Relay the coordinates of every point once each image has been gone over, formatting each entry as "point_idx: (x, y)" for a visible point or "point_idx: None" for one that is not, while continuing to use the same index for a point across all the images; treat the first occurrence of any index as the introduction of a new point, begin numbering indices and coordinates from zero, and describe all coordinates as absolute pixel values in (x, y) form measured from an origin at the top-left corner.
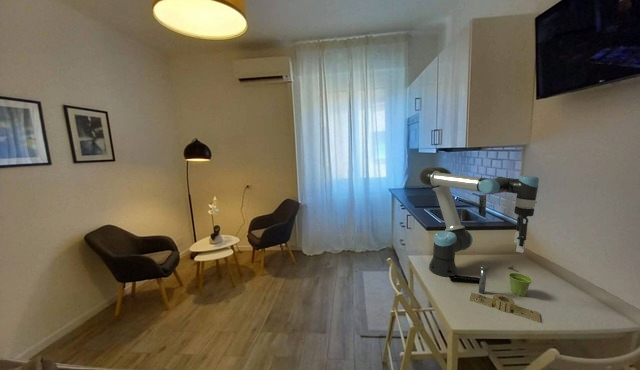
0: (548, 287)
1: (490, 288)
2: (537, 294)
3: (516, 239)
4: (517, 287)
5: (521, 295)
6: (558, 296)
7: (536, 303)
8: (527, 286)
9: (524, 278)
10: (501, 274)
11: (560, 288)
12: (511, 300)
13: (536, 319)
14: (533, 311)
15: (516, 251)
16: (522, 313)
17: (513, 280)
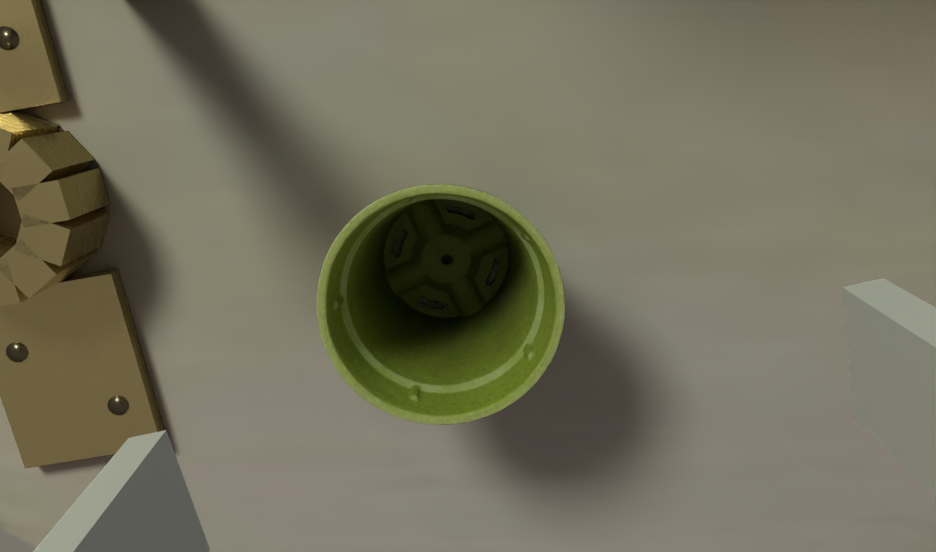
0: (808, 446)
1: (322, 19)
2: (559, 391)
3: (902, 368)
4: (360, 277)
5: (391, 293)
6: (658, 522)
7: (355, 405)
8: (403, 367)
9: (537, 331)
10: (824, 29)
11: (863, 522)
12: (12, 279)
13: (21, 446)
14: (139, 414)
15: (131, 442)
16: (16, 355)
17: (342, 252)
